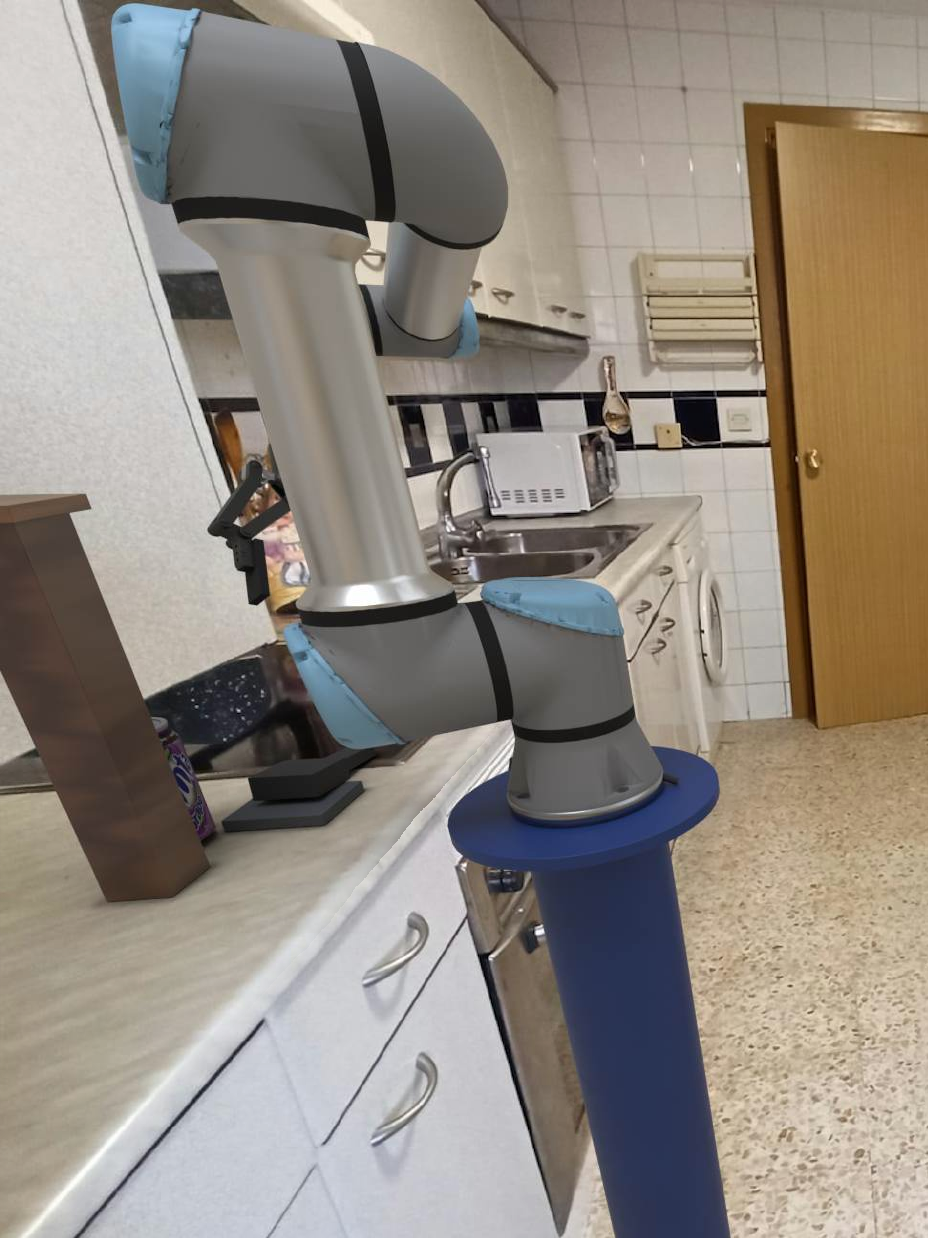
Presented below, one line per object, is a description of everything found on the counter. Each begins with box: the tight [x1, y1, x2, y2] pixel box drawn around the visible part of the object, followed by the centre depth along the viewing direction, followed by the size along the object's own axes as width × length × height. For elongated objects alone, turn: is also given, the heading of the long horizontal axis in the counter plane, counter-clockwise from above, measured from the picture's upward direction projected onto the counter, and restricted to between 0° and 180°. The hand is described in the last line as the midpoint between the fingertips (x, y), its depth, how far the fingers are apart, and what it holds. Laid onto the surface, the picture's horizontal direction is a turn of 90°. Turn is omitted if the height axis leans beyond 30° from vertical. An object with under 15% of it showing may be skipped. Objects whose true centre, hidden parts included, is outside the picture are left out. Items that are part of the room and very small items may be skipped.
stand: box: [0, 493, 212, 903], centre depth 69 cm, size 6×7×33 cm
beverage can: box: [151, 716, 216, 842], centre depth 79 cm, size 7×7×12 cm
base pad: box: [220, 780, 365, 833], centre depth 88 cm, size 9×8×1 cm
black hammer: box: [247, 746, 377, 801], centre depth 93 cm, size 6×15×2 cm, turn 9°
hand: (332, 612), depth 95 cm, fingers open, 13 cm apart
